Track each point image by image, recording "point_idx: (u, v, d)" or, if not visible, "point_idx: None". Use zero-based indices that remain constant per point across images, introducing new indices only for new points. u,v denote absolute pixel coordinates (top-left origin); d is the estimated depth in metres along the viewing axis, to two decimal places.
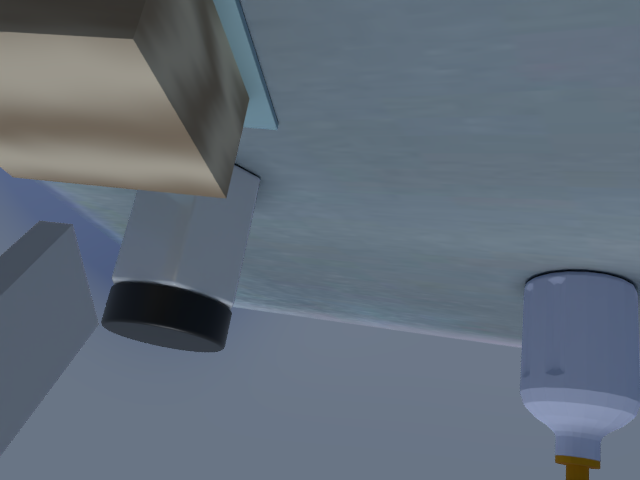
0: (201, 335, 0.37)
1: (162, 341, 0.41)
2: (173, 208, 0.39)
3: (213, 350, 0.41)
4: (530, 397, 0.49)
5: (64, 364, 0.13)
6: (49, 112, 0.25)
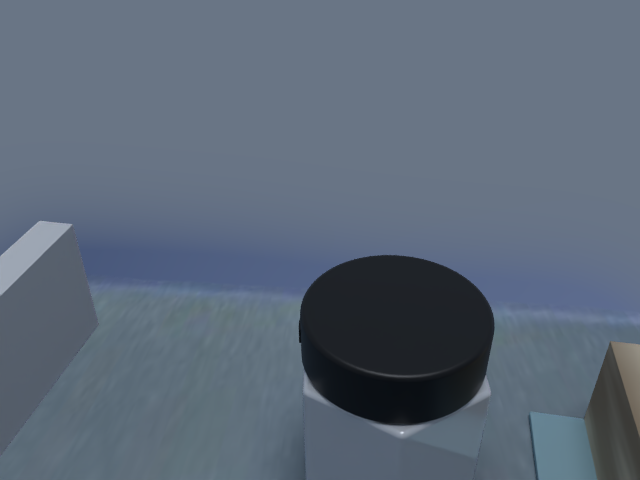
0: (449, 373, 0.23)
1: (367, 296, 0.26)
2: None
3: (335, 348, 0.24)
4: None
5: (64, 364, 0.13)
6: None
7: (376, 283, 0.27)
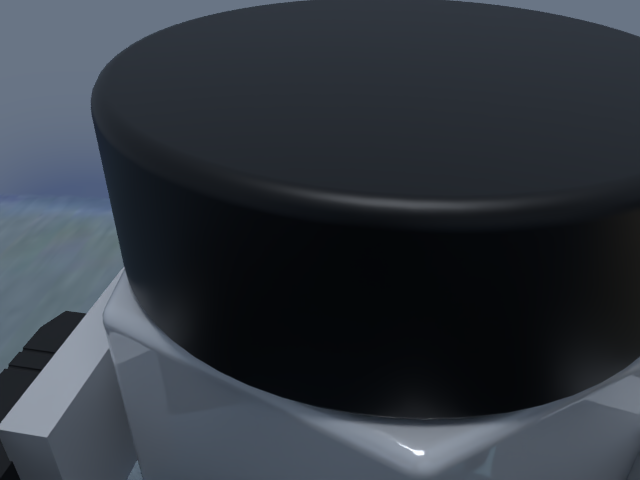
0: (633, 199, 0.05)
1: (315, 41, 0.09)
2: None
3: (171, 128, 0.06)
4: None
5: None
6: None
7: (346, 26, 0.10)
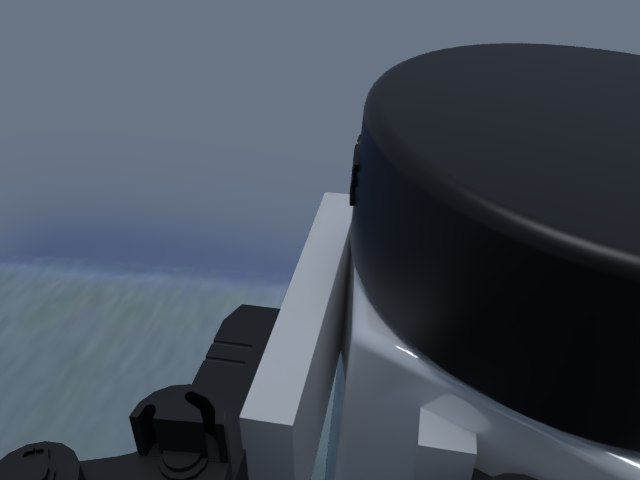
0: None
1: (546, 95, 0.10)
2: None
3: (493, 185, 0.07)
4: None
5: None
6: None
7: (560, 79, 0.10)
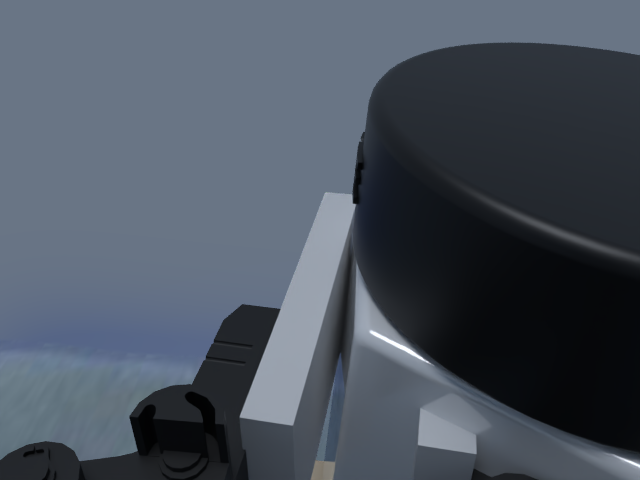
0: None
1: (551, 94, 0.10)
2: None
3: (500, 184, 0.07)
4: None
5: None
6: None
7: (565, 78, 0.10)
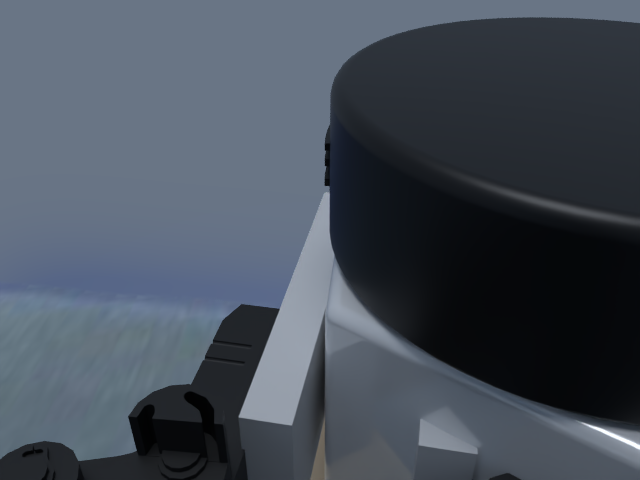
0: None
1: (521, 63, 0.09)
2: None
3: (445, 148, 0.07)
4: None
5: None
6: None
7: (540, 48, 0.10)
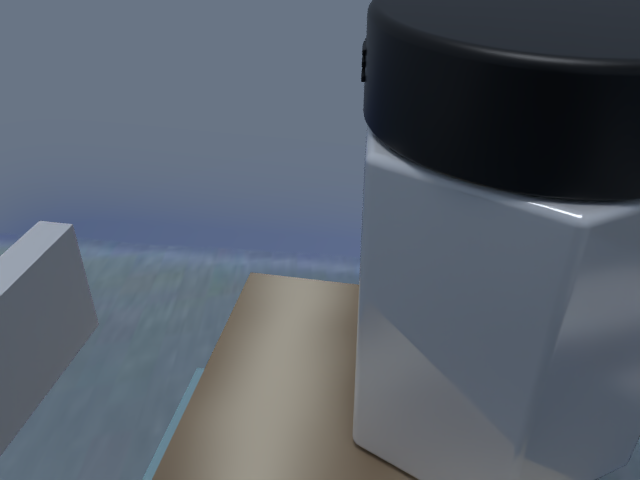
0: None
1: None
2: None
3: (445, 31, 0.11)
4: None
5: (64, 364, 0.13)
6: None
7: None
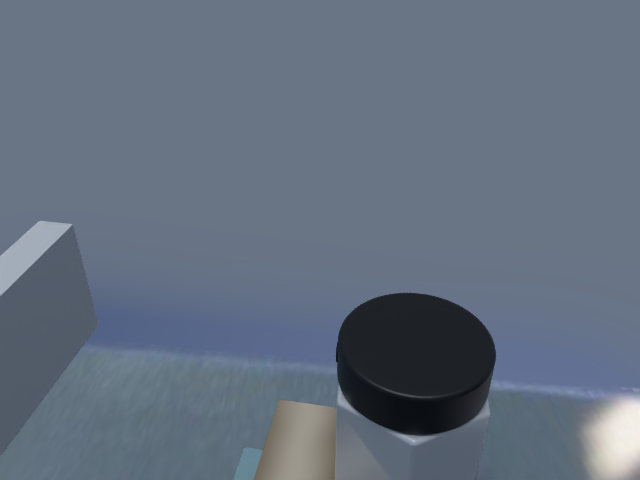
0: (454, 396, 0.28)
1: (393, 328, 0.32)
2: None
3: (364, 370, 0.30)
4: None
5: (64, 364, 0.13)
6: None
7: (401, 317, 0.33)
